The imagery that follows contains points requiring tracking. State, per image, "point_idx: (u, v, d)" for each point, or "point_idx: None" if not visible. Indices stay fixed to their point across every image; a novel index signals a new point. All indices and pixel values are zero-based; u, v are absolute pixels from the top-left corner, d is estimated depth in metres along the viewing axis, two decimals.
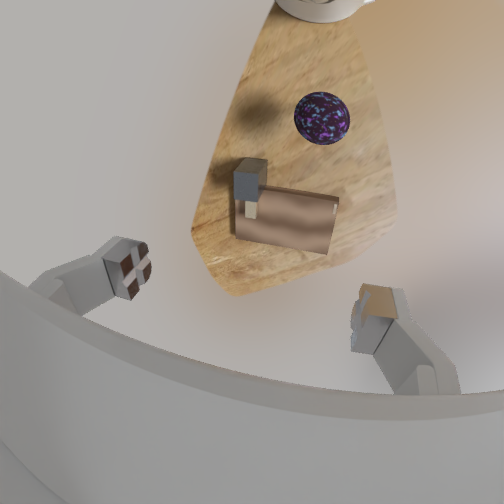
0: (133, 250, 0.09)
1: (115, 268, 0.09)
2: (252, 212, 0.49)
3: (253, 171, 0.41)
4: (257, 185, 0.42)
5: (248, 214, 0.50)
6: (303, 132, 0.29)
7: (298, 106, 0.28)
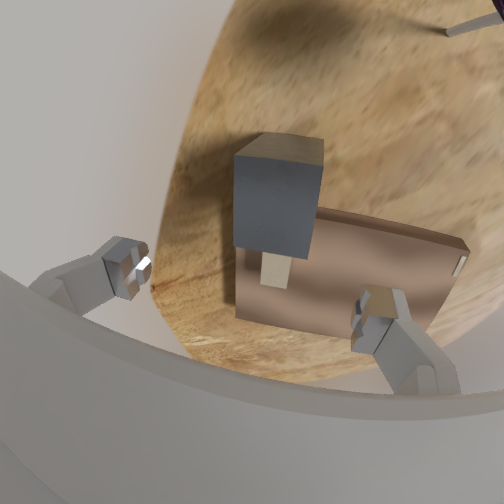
0: (133, 250, 0.09)
1: (115, 268, 0.09)
2: (279, 274, 0.19)
3: (300, 157, 0.12)
4: (314, 205, 0.12)
5: (269, 278, 0.20)
6: None
7: None
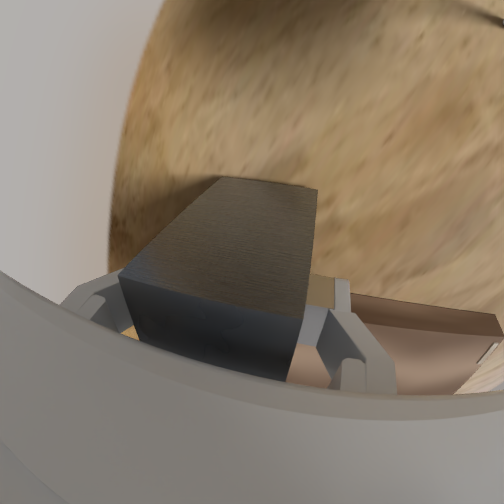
0: None
1: None
2: None
3: (257, 278, 0.06)
4: None
5: None
6: None
7: None
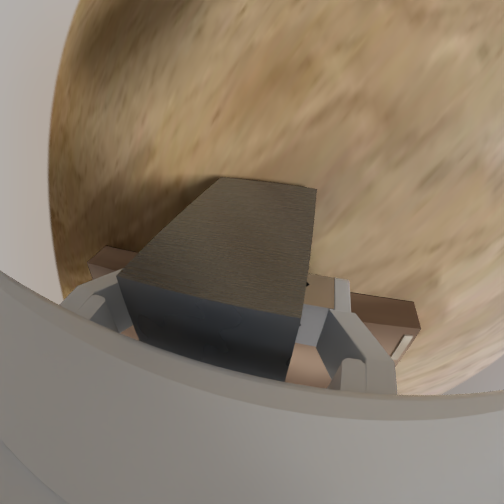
0: None
1: None
2: None
3: (255, 278, 0.06)
4: None
5: None
6: None
7: None
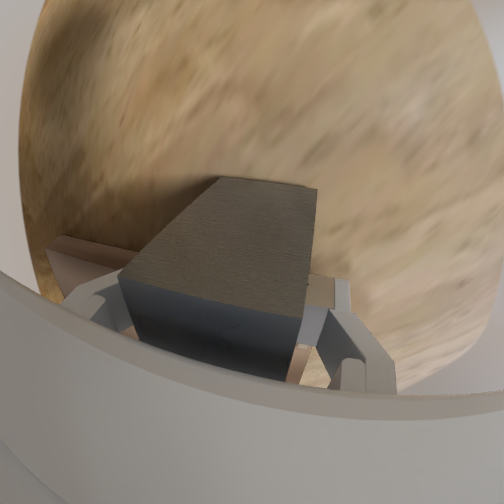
0: None
1: None
2: None
3: (256, 278, 0.06)
4: None
5: None
6: None
7: None
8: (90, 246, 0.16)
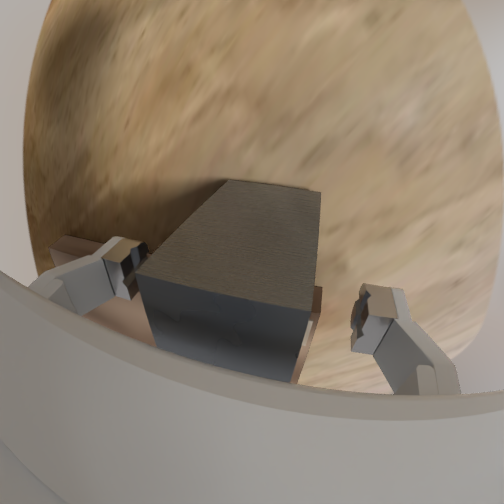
0: (133, 250, 0.09)
1: (115, 268, 0.09)
2: None
3: (267, 275, 0.06)
4: (291, 362, 0.06)
5: None
6: None
7: None
8: (94, 246, 0.16)
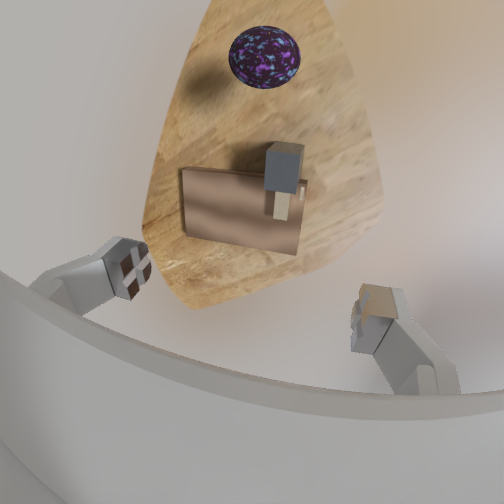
0: (133, 250, 0.09)
1: (115, 268, 0.09)
2: (283, 211, 0.38)
3: (292, 152, 0.30)
4: (297, 170, 0.30)
5: (277, 214, 0.38)
6: (237, 71, 0.20)
7: (233, 44, 0.20)
8: (210, 169, 0.40)
